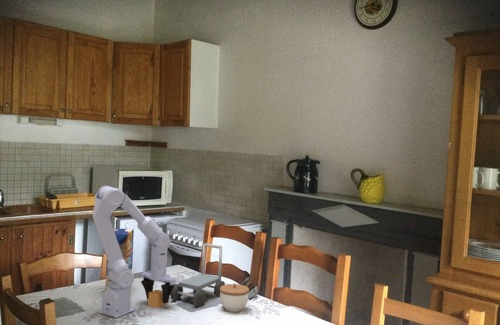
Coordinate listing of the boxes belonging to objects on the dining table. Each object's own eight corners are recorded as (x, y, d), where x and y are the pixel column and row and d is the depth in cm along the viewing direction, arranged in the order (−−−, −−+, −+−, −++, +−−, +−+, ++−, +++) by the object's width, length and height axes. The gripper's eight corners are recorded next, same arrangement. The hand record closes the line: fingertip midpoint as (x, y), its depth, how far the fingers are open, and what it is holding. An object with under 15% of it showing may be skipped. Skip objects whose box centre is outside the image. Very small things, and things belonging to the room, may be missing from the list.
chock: (156, 308, 170) (157, 294, 170) (148, 306, 172) (148, 292, 172) (168, 303, 177) (169, 289, 176) (160, 301, 178) (161, 287, 178)
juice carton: (124, 296, 181) (127, 234, 180) (105, 295, 181) (107, 233, 180) (131, 287, 193) (133, 229, 192) (113, 286, 193) (115, 228, 192)
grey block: (241, 304, 180) (260, 280, 185) (227, 295, 184) (246, 271, 189) (247, 315, 187) (265, 291, 192) (233, 306, 191) (252, 283, 196)
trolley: (195, 308, 172) (198, 254, 171) (169, 301, 178) (172, 250, 177) (224, 294, 189) (227, 246, 189) (200, 288, 195) (202, 241, 195)
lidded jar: (244, 315, 167) (245, 289, 166) (215, 312, 169) (216, 286, 168) (250, 306, 177) (251, 281, 177) (223, 302, 179) (224, 278, 179)
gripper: (181, 265, 173) (179, 301, 174) (150, 259, 180) (149, 294, 181) (169, 269, 167) (167, 307, 167) (138, 262, 174) (136, 299, 174)
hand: (157, 300), depth 174 cm, fingers open, 7 cm apart
